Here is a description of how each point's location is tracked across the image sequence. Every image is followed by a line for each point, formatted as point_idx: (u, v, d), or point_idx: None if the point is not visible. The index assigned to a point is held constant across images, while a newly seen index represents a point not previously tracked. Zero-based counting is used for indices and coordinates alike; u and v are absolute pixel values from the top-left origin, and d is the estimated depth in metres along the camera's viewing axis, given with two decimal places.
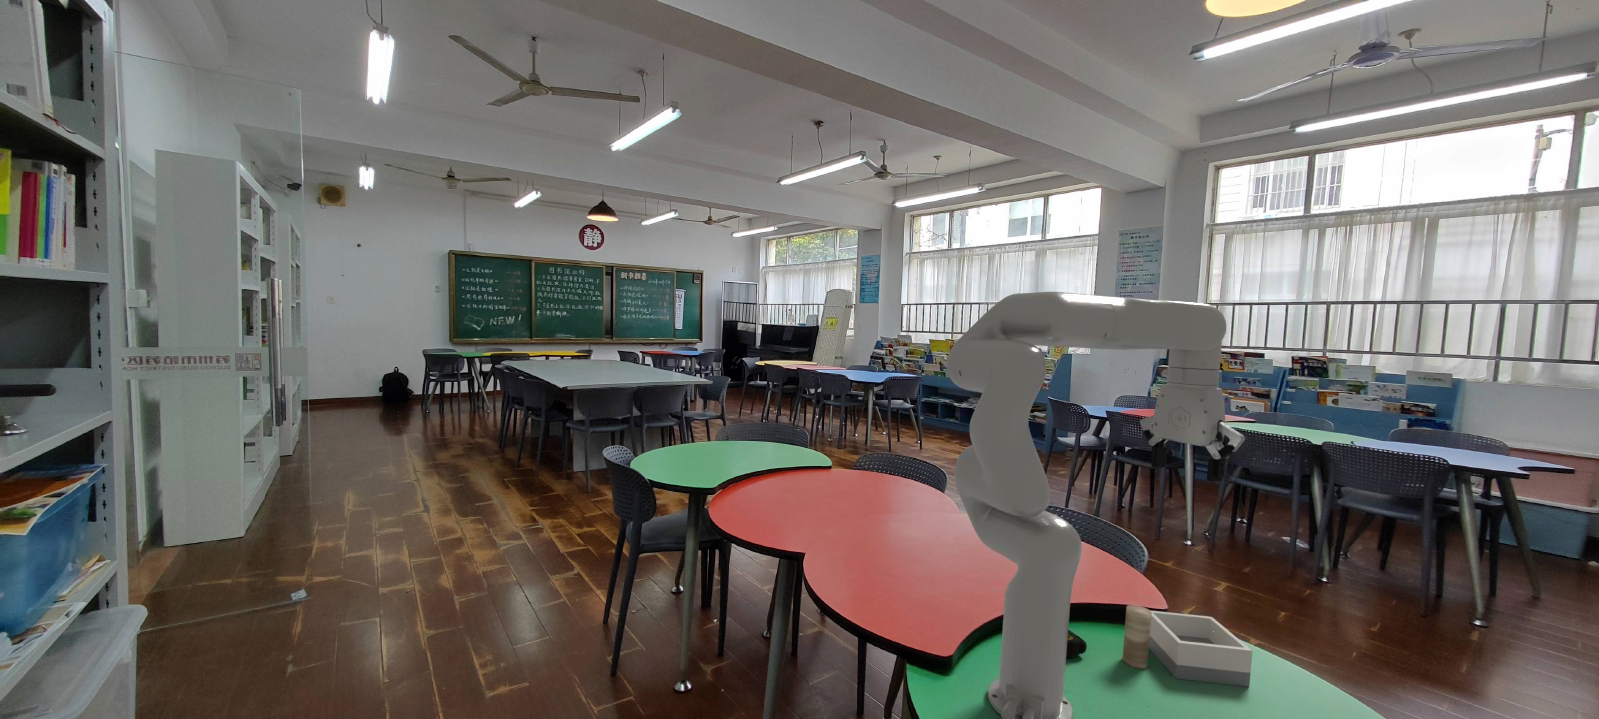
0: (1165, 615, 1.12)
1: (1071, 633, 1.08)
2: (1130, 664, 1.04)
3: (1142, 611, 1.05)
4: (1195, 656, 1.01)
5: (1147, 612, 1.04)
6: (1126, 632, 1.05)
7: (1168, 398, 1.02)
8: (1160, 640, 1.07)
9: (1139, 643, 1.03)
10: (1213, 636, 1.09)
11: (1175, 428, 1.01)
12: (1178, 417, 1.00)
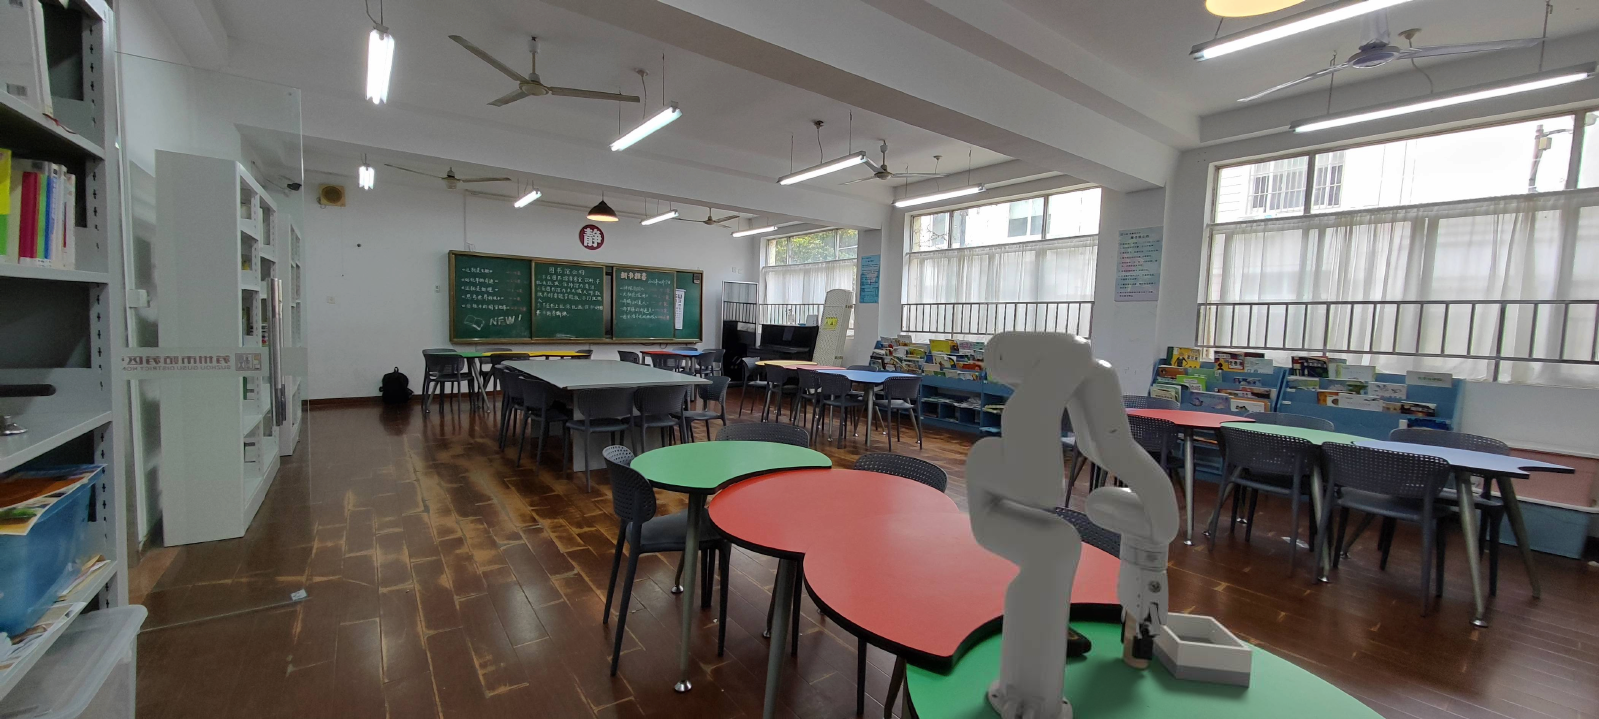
0: None
1: (1076, 632, 1.09)
2: (1130, 664, 1.04)
3: None
4: (1195, 656, 1.01)
5: None
6: (1126, 632, 1.05)
7: None
8: (1160, 640, 1.07)
9: None
10: (1213, 636, 1.09)
11: None
12: None
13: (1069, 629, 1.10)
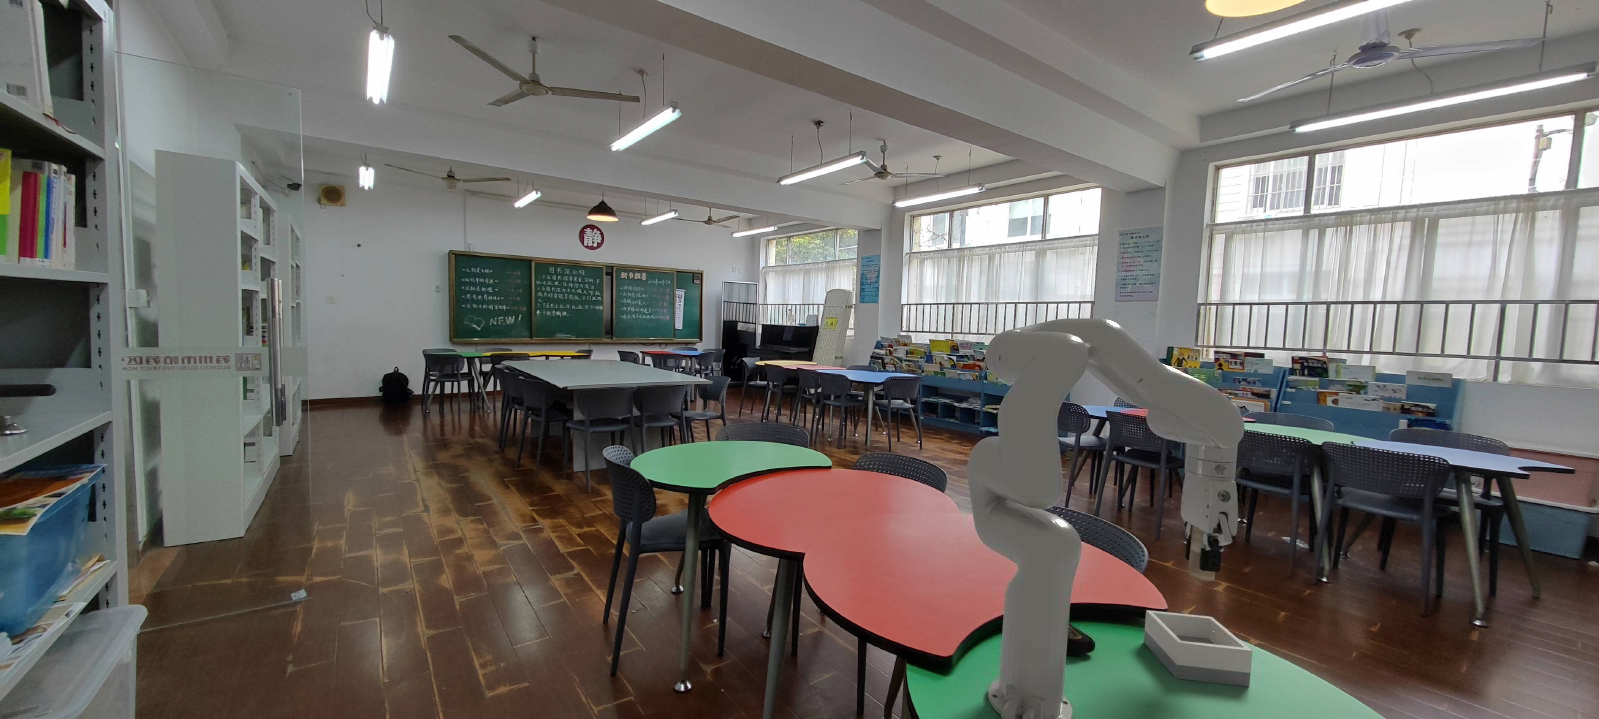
0: (1165, 615, 1.12)
1: (1080, 632, 1.09)
2: (1197, 577, 1.04)
3: None
4: (1195, 656, 1.01)
5: None
6: (1193, 546, 1.05)
7: None
8: (1160, 640, 1.07)
9: None
10: (1213, 636, 1.09)
11: None
12: None
13: (1073, 628, 1.10)
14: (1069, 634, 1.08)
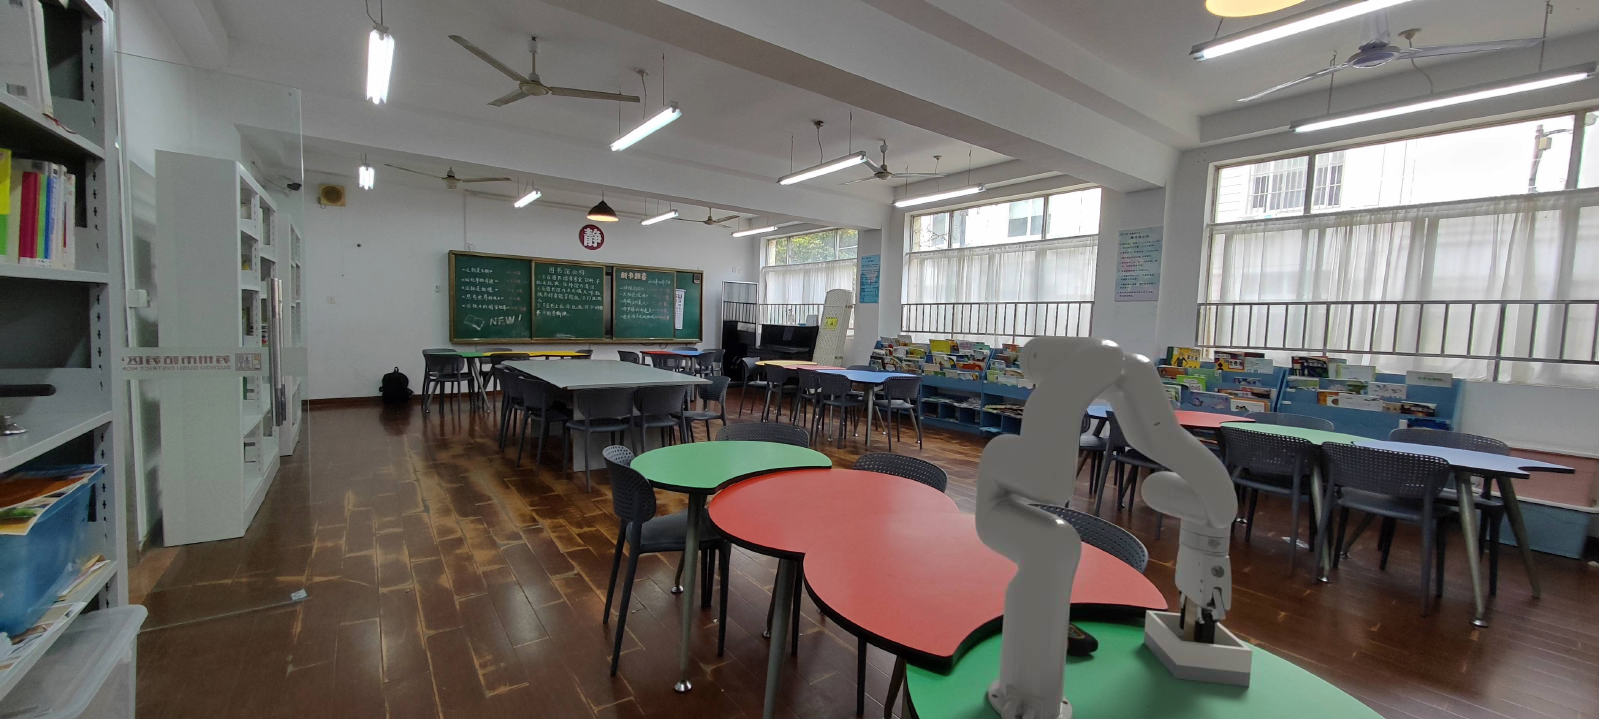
0: (1165, 615, 1.12)
1: (1083, 631, 1.09)
2: None
3: None
4: (1195, 656, 1.01)
5: None
6: (1187, 617, 1.06)
7: None
8: (1160, 640, 1.07)
9: None
10: None
11: None
12: None
13: (1076, 628, 1.10)
14: (1072, 634, 1.08)
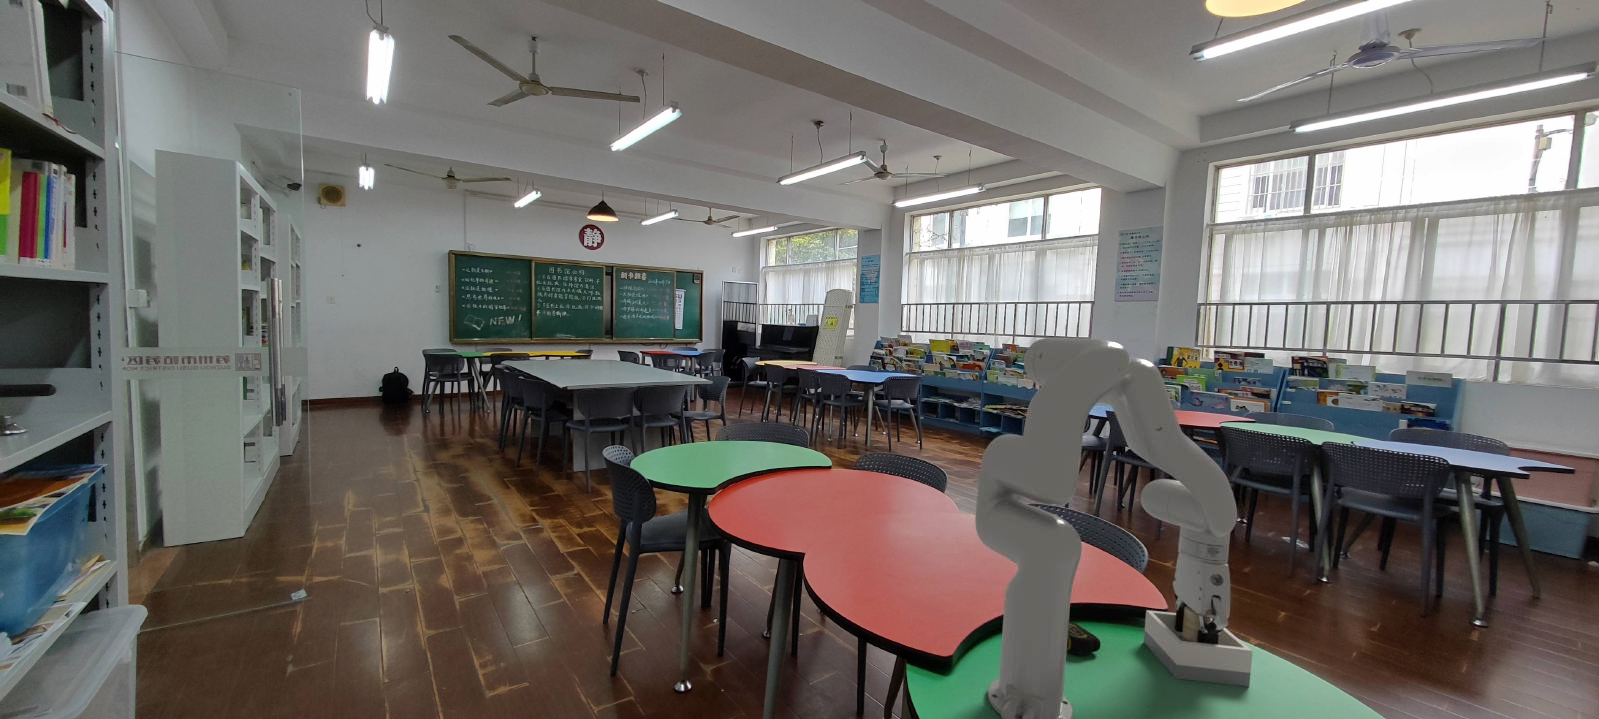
0: (1165, 615, 1.12)
1: (1085, 631, 1.09)
2: None
3: None
4: (1195, 656, 1.01)
5: (1206, 613, 1.05)
6: (1185, 633, 1.06)
7: None
8: (1160, 640, 1.07)
9: None
10: None
11: None
12: None
13: (1078, 628, 1.11)
14: (1075, 633, 1.08)
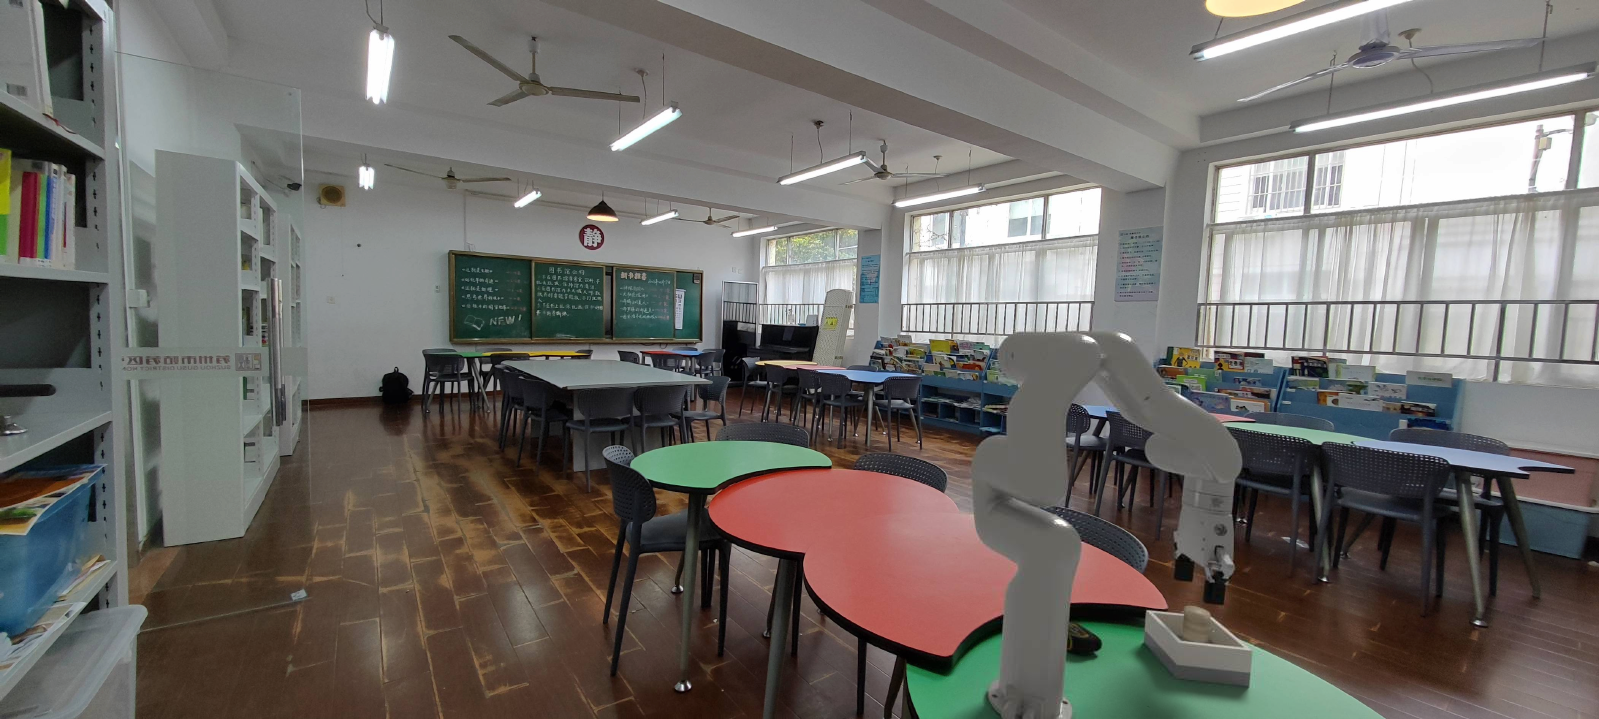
0: (1165, 615, 1.12)
1: (1086, 631, 1.09)
2: None
3: (1201, 612, 1.05)
4: (1195, 656, 1.01)
5: (1206, 613, 1.05)
6: (1184, 633, 1.06)
7: None
8: (1160, 640, 1.07)
9: None
10: (1213, 636, 1.09)
11: None
12: None
13: (1079, 627, 1.11)
14: (1076, 633, 1.08)
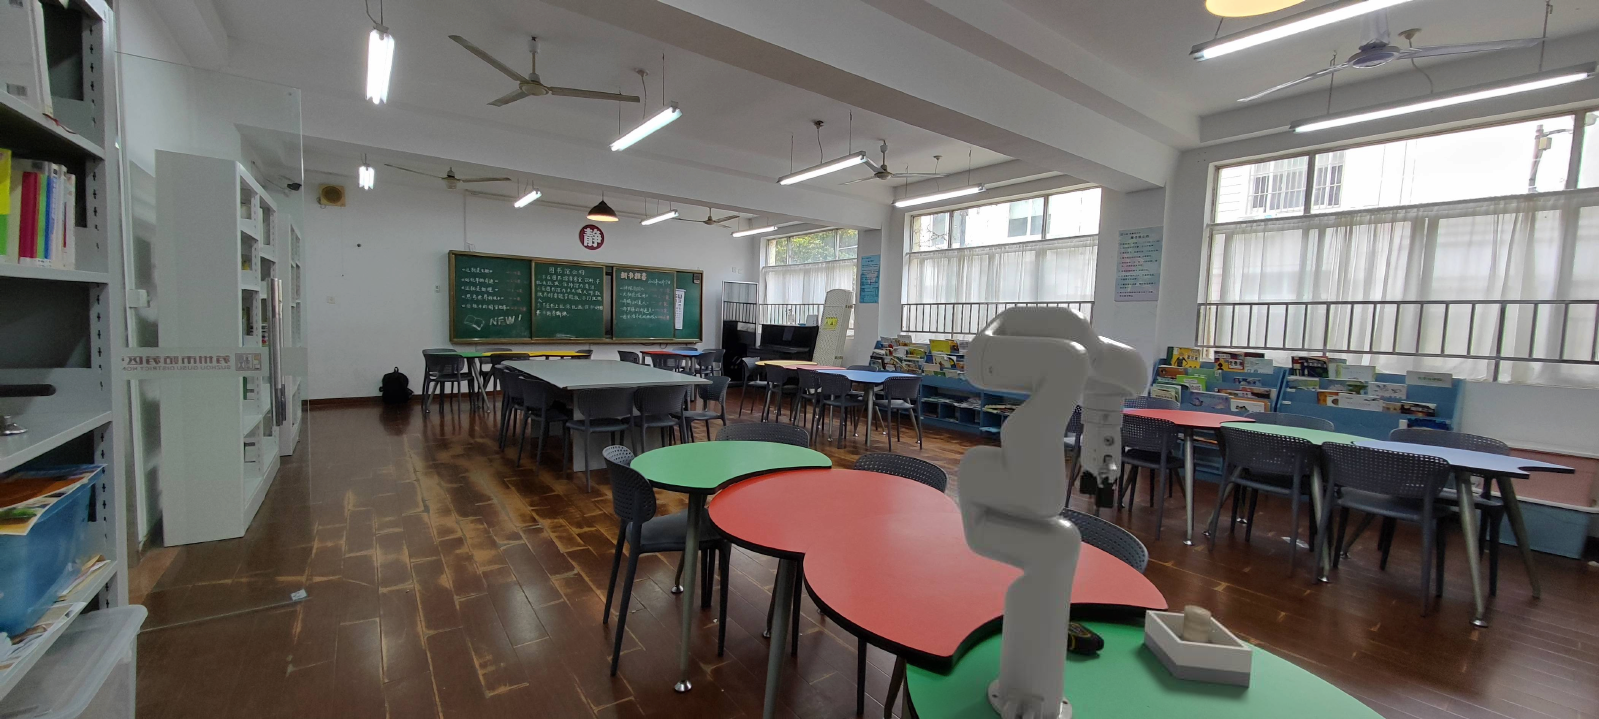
0: (1165, 615, 1.12)
1: (1089, 630, 1.10)
2: None
3: (1201, 611, 1.05)
4: (1195, 656, 1.01)
5: (1207, 612, 1.05)
6: (1185, 632, 1.06)
7: None
8: (1160, 640, 1.07)
9: None
10: (1213, 636, 1.09)
11: None
12: None
13: (1082, 627, 1.11)
14: (1078, 632, 1.09)
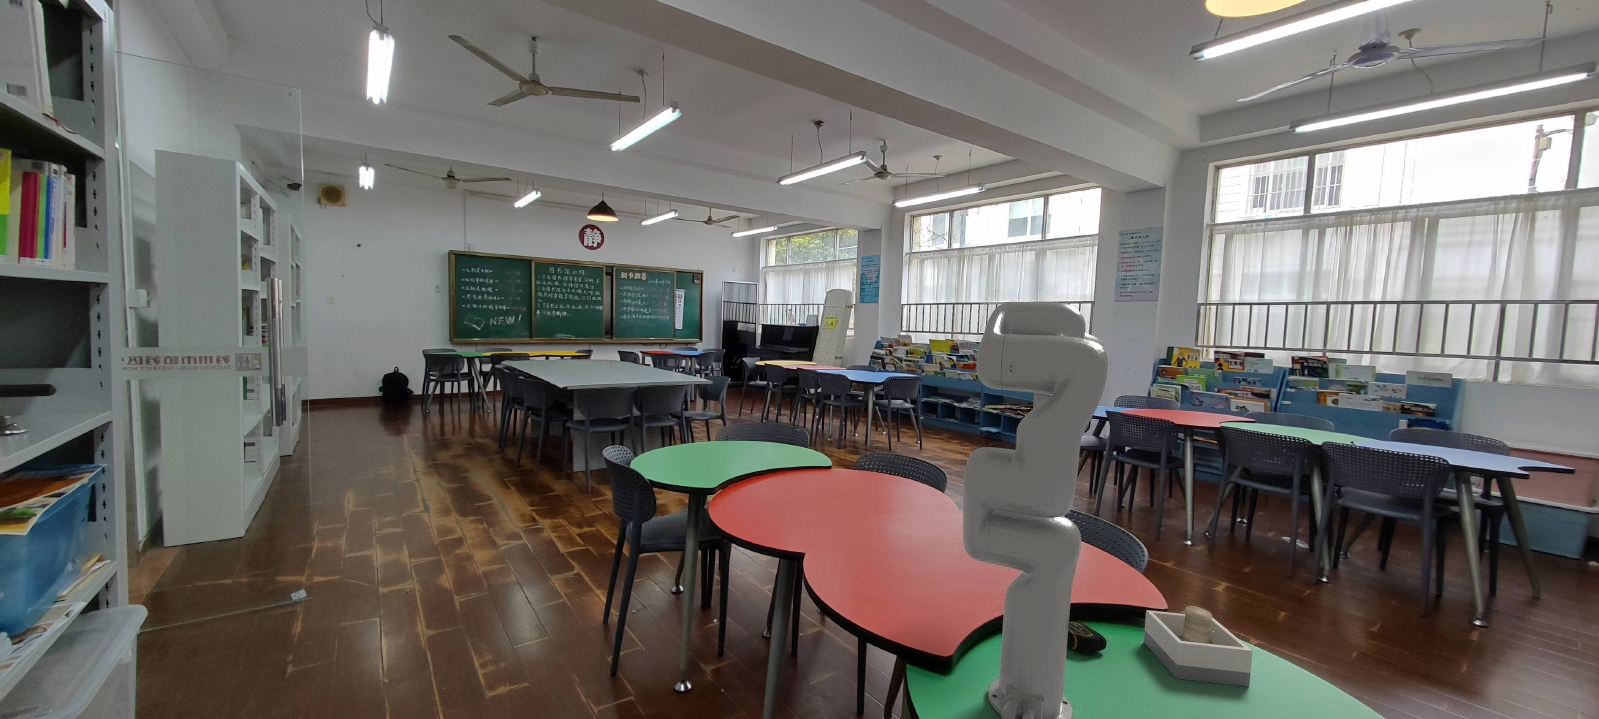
0: (1165, 615, 1.12)
1: (1091, 630, 1.10)
2: None
3: (1202, 613, 1.05)
4: (1195, 656, 1.01)
5: (1208, 613, 1.05)
6: (1186, 633, 1.06)
7: None
8: (1160, 640, 1.07)
9: None
10: (1213, 636, 1.09)
11: None
12: None
13: (1084, 627, 1.11)
14: (1081, 632, 1.09)
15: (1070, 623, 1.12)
